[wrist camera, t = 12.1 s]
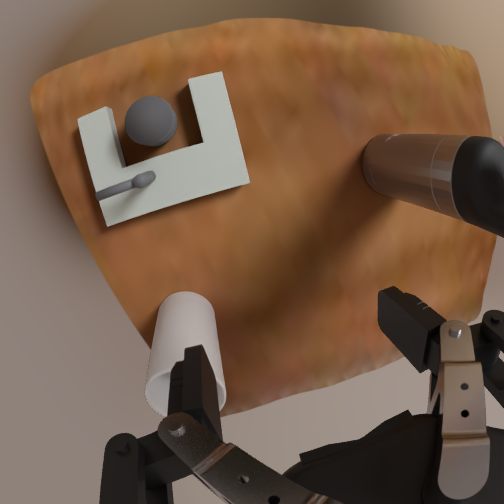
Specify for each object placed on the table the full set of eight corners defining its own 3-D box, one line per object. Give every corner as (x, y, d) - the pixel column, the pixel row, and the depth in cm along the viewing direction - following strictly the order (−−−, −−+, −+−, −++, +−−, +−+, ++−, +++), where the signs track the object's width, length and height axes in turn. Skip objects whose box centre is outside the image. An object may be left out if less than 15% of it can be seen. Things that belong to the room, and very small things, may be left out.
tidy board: (220, 76, 31) (226, 55, 23) (246, 181, 36) (260, 188, 28) (84, 120, 29) (55, 114, 22) (112, 222, 34) (91, 241, 27)
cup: (151, 296, 39) (132, 373, 24) (209, 286, 40) (218, 362, 25) (166, 343, 41) (159, 425, 27) (219, 335, 42) (232, 416, 28)
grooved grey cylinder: (172, 98, 31) (167, 88, 25) (182, 138, 33) (179, 135, 27) (130, 112, 30) (118, 105, 25) (140, 152, 32) (129, 152, 27)
